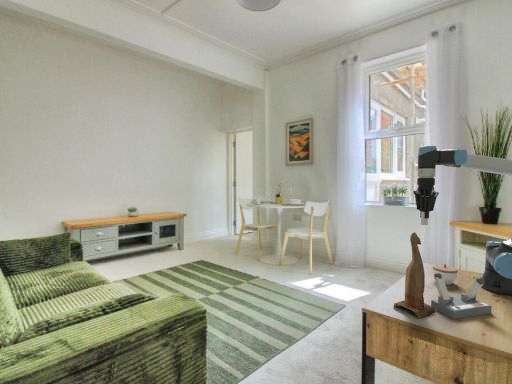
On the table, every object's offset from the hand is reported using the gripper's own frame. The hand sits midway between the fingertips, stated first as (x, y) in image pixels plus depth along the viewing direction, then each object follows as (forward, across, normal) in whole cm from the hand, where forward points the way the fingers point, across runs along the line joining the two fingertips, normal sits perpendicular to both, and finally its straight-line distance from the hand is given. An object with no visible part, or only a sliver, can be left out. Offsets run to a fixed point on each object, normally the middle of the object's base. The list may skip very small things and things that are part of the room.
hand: (424, 224), depth 138 cm
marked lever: (+26, +25, -1) cm, 36 cm away
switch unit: (+30, +26, -7) cm, 41 cm away
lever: (+26, +25, -13) cm, 38 cm away
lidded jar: (+31, +1, +14) cm, 33 cm away
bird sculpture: (+31, +21, -26) cm, 46 cm away
